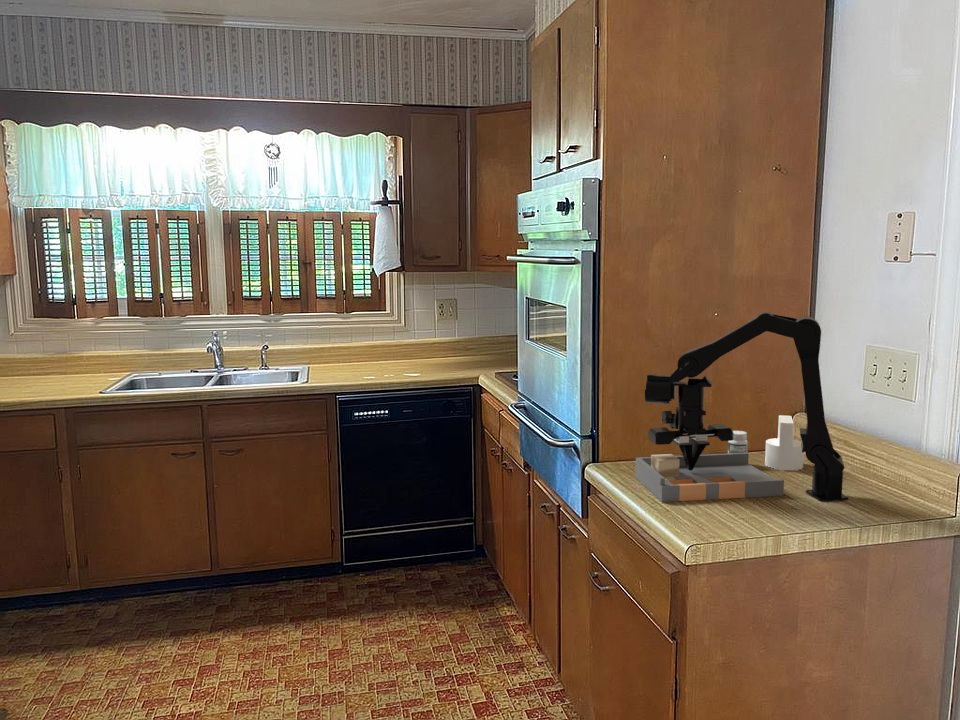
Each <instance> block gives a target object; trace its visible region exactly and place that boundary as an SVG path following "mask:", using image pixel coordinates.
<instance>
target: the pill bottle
mask: <svg viewBox="0 0 960 720" xmlns="http://www.w3.org/2000/svg"><path fill="white" fill-rule="evenodd" d="M733 433H734V439H733V440H732V441H727V453H748V447H749V446H748V445H749V444H748V443H749V442H748V440H747V437H748V435H747V434H748V433H747V432H746V431H742V430H733Z"/></svg>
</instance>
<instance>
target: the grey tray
mask: <svg viewBox="0 0 960 720" xmlns="http://www.w3.org/2000/svg"><path fill="white" fill-rule="evenodd" d="M674 456H675V457H677V458H678V459H679V460H680V461H679V476H678V477H663V476H662V475H660V474H659V473H658V472H657V471H656V470H654V469H653V468H652V467H651V456H645V457H642V456H641V457H635V479H636V480H637V481H638V482H639V483H641V484H642V485H643V486H644V487H645V488H646V489H647V490H648V491H649V492H651V494H652V495H653V496H655V498H656V499H658V500H659V501H660V502H661V503H666V502H667V503H669V502H671V503H672V502H685V501H686V502H688V501H706V500H707V501H708V500H725V499H741V498H745V499H746V498H761V497H763V498H764V497H781V496H784V492H785V491H784V487H785V480H784V479H782V478H773V477H772V476H770V475H769V474H767V473H765V472H764V471H762V470H760V469H758V468H757V467H755V466H754V465H752V464H750V463H749V457H750V455H749V453H748V452H747V453H728V452H726V453H710V454H708V453H705V454H701V455H700V456H699V458H698V460H697V462H696V464H695V466H694V468H693V470H688V469H687V466H686V463H685V460H684V457H683V454H682V455H674Z"/></svg>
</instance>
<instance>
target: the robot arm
mask: <svg viewBox="0 0 960 720" xmlns="http://www.w3.org/2000/svg"><path fill="white" fill-rule="evenodd" d="M766 332H769V333H772V334H777V335H780V336H782V337H786V338H787V337H788V338H790V339H791V338H792V339H793V342H794V345H795V348H796V351H797V354H798V357H799V360H800V368H801V370H800V371H801V376H802V377H801V378H802V385H803V395H804V404H805V412H806V413H805V414H806V425H805V426H806V427H805V428H803V427H802V428H801V427H800V428H799V434H800V438H801V439H800V440H801V442H802V443H801V448H802V453H804V455H805V457H806V459H807V460H808V461H809V462H810V463H812V466H813V469H812V480H811V481H812V483H811V489H805V493H807V494H808V495H810V496H812V497H813V498H815V499H817V500H818V501H821V502H828V501H845V500H849V497H848V496H847V495H845V494H843V482H844V470H845V465H844V460H843V457H842V455H841V454H840V453H839V452H838V451H836V449H835V448H834V446H833V441H832V439H831V436H830V432H829V429H828V426H827V422H826V417H825V409H824V400H823V390H822V380H821V372H820V363H819V361H820V360H819V359H820V350H821V349H820V348H821V338H822V329H821V326H820V324H819V322H818V320H816V319H815V318H813V317H811V316H800V317H799V318H795V317H790V316H785V315H779V314H775V313H771V312H768V311H764V312H760V313H759V314H758V315H757V316H756V317H754V318H752V319H750V320H749V321H747V322H745V323H744V324H742V325H740V326H738V327H736V328H734V329H733V330H731V331H729V332H728V333H726V334H725V335H722V336H721V337H719V338H717V339H716V340H714V341H711V342H709V343H706V344H701V345H699V346H697V347H694V348H691V349H689V350H686V351H684V353H682V355H680V357H679V358H678V360H677V368H676V369H675V370H673V371H672V372H671V374H670V375H668V374H667V375H666V374H656V373H648V374H647V375H646V383H645V389H644V402H645V403H646V404H647V403H649V404H668V405H669V404H671V403H672V400H673V401H674V400H676V398H677V399H678V400H677V401H678V403H677V404H678V405H677V406H676V409H675V413H673V412H672V410H662V411H661V421H662V425H669V429H668V428H667V427H664V426H661V427H660V426H659V427H650V429H649V430H648V433H647V435H648V436H647V439H648V440H649V441H651V442H652V443H653V444H654V445H657V446H660V445H670V444H671V443H673V444H675V445H676V446H678V448H679V449H680V452H681V454H682V455H683V457H684V460H685V463H686V466H687V469H688V470H693V468H694V466H695V464H696V462H697V460H698V458H699V456H700V455H702V453H703V452H704V450H705V448H706V447H707V446H710V444H711V443H710V442H709V441H708V438H713V437H714V438H716V437H717V439H718V440H719V441H720V442H728V441H732V440H733V439H734V433H733V431H734V430H733V429H732V428H731V427H729V426H728V425H726V424H724V423H718V424H717V423H716V424H708V426H707V428H705V427H704V421H705V419H704V418H705V417H704V416H706V415H707V414H706V413H707V411H706V410H705V405H704V404H705V401H704V400H705V388H712V386H713V384H714V383H713V382H714V381H712V380H710V378H708V376H707V375H706V374H705V375H704V376H703V377H702V378H701V377H699V378H696V377H697V376H699V375H700V374H702V373H703V372H704V371H706V370H707V369H708V368H709V367H710V366H712V365H713V364H714V363H715V362H716V361H717V360H718V359H720V358H721V357H722V356H724V355H727V354H728V353H730V352H732V351H733V350H735V349H737V348H739V347H741V346H742V345H744V344H746V343H748V342H749V341H752V339H755V338H757V337H758V336H760V335H761V334H764V333H766ZM685 378H688V379H687V381H682V380H684V379H685ZM677 387H678V394H677ZM677 395H678V397H677ZM671 429H672V430H671ZM673 429H674V430H673Z"/></svg>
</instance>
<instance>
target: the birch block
mask: <svg viewBox="0 0 960 720" xmlns="http://www.w3.org/2000/svg"><path fill="white" fill-rule="evenodd" d="M675 456H676V455H674V454H672V453H665V454H664V453H663V454H650V457H651V467H652V468H653V469H654V470H656V471H657V472H658V473H659V474H660V475H662V476H663V477H678V476H679V461H680V460H679V459H678V458H677V457H675Z"/></svg>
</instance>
